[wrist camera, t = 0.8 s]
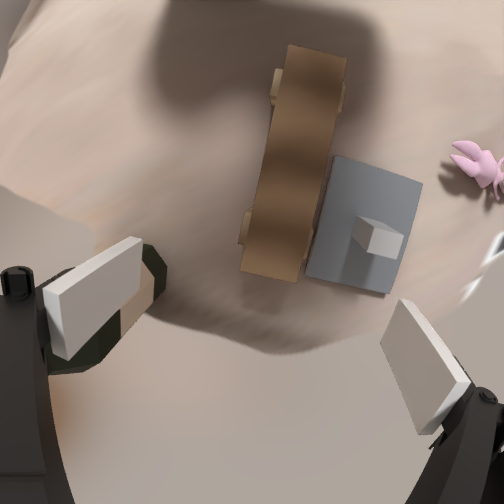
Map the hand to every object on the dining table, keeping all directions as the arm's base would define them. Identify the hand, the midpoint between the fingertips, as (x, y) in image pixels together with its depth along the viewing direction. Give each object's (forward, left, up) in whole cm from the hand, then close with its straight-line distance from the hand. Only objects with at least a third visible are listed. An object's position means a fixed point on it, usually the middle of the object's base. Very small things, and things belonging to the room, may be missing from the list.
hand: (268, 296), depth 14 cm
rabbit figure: (-14, +25, -21) cm, 36 cm away
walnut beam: (-7, 0, -16) cm, 17 cm away
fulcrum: (-2, +10, -21) cm, 23 cm away
